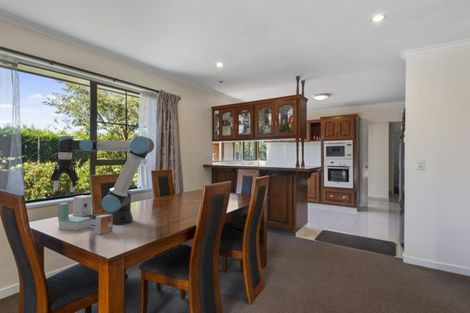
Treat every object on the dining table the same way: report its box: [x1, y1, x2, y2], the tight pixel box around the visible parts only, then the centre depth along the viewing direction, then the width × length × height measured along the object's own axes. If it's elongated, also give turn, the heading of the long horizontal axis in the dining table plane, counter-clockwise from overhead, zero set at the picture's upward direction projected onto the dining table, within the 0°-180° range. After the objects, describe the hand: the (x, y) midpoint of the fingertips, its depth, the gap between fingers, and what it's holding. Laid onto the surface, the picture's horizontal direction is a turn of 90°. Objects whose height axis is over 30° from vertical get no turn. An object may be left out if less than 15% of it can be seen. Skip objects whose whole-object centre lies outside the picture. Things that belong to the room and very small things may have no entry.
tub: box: [58, 219, 91, 232], centre depth 158 cm, size 14×10×5 cm
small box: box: [94, 213, 114, 235], centre depth 151 cm, size 8×6×10 cm
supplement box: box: [72, 195, 93, 217], centre depth 190 cm, size 9×9×15 cm
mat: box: [90, 218, 96, 226], centre depth 172 cm, size 16×12×1 cm
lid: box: [57, 202, 92, 223], centre depth 159 cm, size 19×11×11 cm, turn 77°
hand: (64, 191), depth 160 cm, fingers open, 13 cm apart
